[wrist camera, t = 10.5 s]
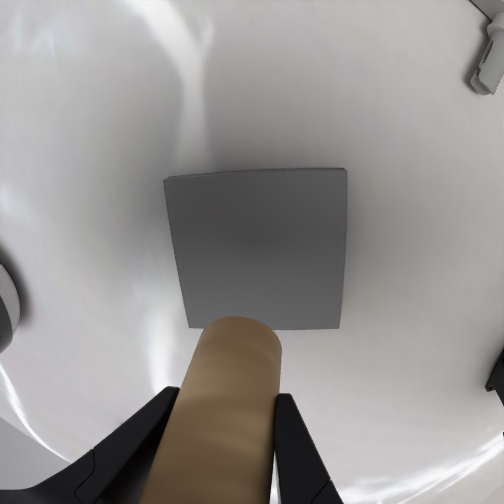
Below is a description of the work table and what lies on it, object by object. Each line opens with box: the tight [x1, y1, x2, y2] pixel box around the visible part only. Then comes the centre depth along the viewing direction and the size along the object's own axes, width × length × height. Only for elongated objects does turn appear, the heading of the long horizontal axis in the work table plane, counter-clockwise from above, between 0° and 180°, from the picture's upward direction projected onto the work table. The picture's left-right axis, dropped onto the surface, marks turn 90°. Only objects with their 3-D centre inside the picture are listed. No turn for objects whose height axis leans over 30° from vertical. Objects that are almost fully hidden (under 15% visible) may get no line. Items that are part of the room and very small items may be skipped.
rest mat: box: [163, 168, 347, 330], centre depth 18 cm, size 10×10×1 cm
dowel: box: [138, 316, 282, 504], centre depth 8 cm, size 3×3×7 cm
